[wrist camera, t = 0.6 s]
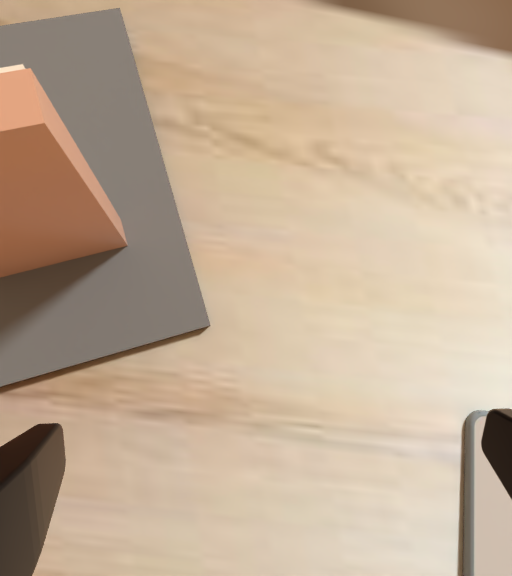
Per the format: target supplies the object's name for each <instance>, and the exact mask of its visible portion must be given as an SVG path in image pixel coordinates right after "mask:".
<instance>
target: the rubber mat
mask: <svg viewBox="0 0 512 576" xmlns="http://www.w3.org/2000/svg"><path fill="white" fill-rule="evenodd" d="M21 64H23V65H24V67H25V69H28V68H31V70H32V71H33V73H34V75H35V76H36V78H37V80H38V81H39V83H40V85H41V86H42V88H43V90H44V91H45V93H46V95H47V96H48V98H49V100H50V101H51V103H52V105H53V107H54V108H55V110H56V112H57V113H58V115H59V117H60V118H61V120H62V122H63V123H64V125H65V127H66V128H67V130H68V132H69V133H70V135H71V137H72V138H73V140H74V142H75V143H76V145H77V147H78V148H79V150H80V152H81V153H82V155H83V157H84V159H85V160H86V162H87V164H88V165H89V167H90V169H91V170H92V172H93V174H94V175H95V177H96V179H97V180H98V182H99V184H100V185H101V187H102V189H103V190H104V192H105V194H106V195H107V197H108V199H109V200H110V202H111V204H112V205H113V207H114V209H115V210H116V212H117V214H118V216H119V217H120V219H121V222H122V226H123V230H124V233H125V237H126V241H127V245H128V246H125V247H121V248H117V249H113V250H109V251H105V252H101V253H97V254H93V255H89V256H85V257H81V258H77V259H72V260H68V261H64V262H60V263H56V264H52V265H48V266H44V267H40V268H36V269H32V270H28V271H24V272H20V273H16V274H12V275H8V276H4V277H0V387H2V386H6V385H9V384H12V383H16V382H19V381H23V380H26V379H30V378H33V377H36V376H40V375H43V374H47V373H50V372H54V371H57V370H60V369H64V368H67V367H71V366H74V365H78V364H81V363H84V362H88V361H91V360H95V359H98V358H102V357H105V356H108V355H112V354H115V353H119V352H122V351H126V350H129V349H133V348H136V347H139V346H143V345H146V344H150V343H153V342H157V341H160V340H163V339H167V338H170V337H174V336H177V335H181V334H184V333H187V332H191V331H194V330H198V329H201V328H205V327H208V326H210V323H209V319H208V316H207V312H206V309H205V305H204V302H203V298H202V295H201V291H200V288H199V284H198V281H197V277H196V274H195V270H194V267H193V263H192V260H191V256H190V253H189V249H188V246H187V242H186V239H185V235H184V232H183V228H182V225H181V221H180V218H179V214H178V211H177V207H176V204H175V200H174V197H173V193H172V190H171V186H170V183H169V179H168V176H167V172H166V169H165V165H164V162H163V158H162V155H161V151H160V148H159V144H158V141H157V137H156V134H155V130H154V127H153V123H152V119H151V116H150V112H149V109H148V105H147V102H146V98H145V95H144V91H143V88H142V84H141V81H140V77H139V74H138V70H137V67H136V63H135V60H134V56H133V53H132V49H131V46H130V42H129V39H128V35H127V32H126V28H125V25H124V21H123V18H122V14H121V11H120V8H116V9H109V10H103V11H96V12H89V13H83V14H76V15H70V16H63V17H56V18H50V19H43V20H36V21H30V22H23V23H17V24H10V25H3V26H0V68H3V67H9V66H15V65H21Z"/></svg>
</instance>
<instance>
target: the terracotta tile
mask: <svg viewBox="0 0 512 576" xmlns="http://www.w3.org/2000/svg"><path fill="white" fill-rule="evenodd" d="M125 246H128V245H127V241H126V237H125V233H124V230H123V226H122V222H121V219H120V217H119V216H118V214H117V212H116V210H115V209H114V207H113V205H112V204H111V202H110V200H109V199H108V197H107V195H106V194H105V192H104V190H103V189H102V187H101V185H100V184H99V182H98V180H97V179H96V177H95V175H94V174H93V172H92V170H91V169H90V167H89V165H88V164H87V162H86V160H85V159H84V157H83V155H82V153H81V152H80V150H79V148H78V147H77V145H76V143H75V142H74V140H73V138H72V137H71V135H70V133H69V132H68V130H67V128H66V127H65V125H64V123H63V122H62V120H61V118H60V117H59V115H58V113H57V112H56V110H55V108H54V107H53V105H52V103H51V101H50V100H49V98H48V96H47V95H46V93H45V91H44V90H43V88H42V86H41V85H40V83H39V81H38V80H37V78H36V76H35V75H34V73H33V71H32V70H31V68H28V69H25V67H24V65H23V64H21V65H15V66H9V67H3V68H0V277H4V276H8V275H12V274H16V273H20V272H24V271H28V270H32V269H36V268H40V267H44V266H48V265H52V264H56V263H60V262H64V261H68V260H72V259H77V258H81V257H85V256H89V255H93V254H97V253H101V252H105V251H109V250H113V249H117V248H121V247H125Z"/></svg>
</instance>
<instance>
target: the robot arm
mask: <svg viewBox="0 0 512 576" xmlns="http://www.w3.org/2000/svg"><path fill="white" fill-rule="evenodd" d="M481 447H482V451H483V453H484V455H485V457H486V458H487V460H488V462H489V463H490V465H491V466H492V468H493V470H494V471H495V473H496V475H497V476H498V478H499V480H500V481H501V483H502V485H503V486H504V488H505V490H506V491H507V493H508V495H509V496H510V498H511V500H512V409H492V410H490V411H489V412H488V414H487V416H486V421H485V425H484V430H483V434H482V439H481ZM65 463H66V459H65V448H64V437H63V429H62V426H61V425H60V424H58V423H52V424H38V425H36V426H34V427H32V428H31V429H29V430H27V431H26V432H24V433H23V434H21V435H19V436H18V437H16V438H14V439H13V440H11V441H9V442H8V443H6V444H4V445H3V446H1V447H0V576H32V574H33V572H34V570H35V567H36V564H37V562H38V559H39V557H40V554H41V551H42V548H43V545H44V541H45V538H46V535H47V531H48V528H49V524H50V521H51V517H52V514H53V510H54V507H55V503H56V500H57V496H58V493H59V489H60V486H61V482H62V479H63V475H64V471H65Z"/></svg>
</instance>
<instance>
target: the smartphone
mask: <svg viewBox="0 0 512 576" xmlns="http://www.w3.org/2000/svg"><path fill="white" fill-rule="evenodd" d="M488 412H489V411H482V410H477V411H474V412H472V413H470V414H469V416H468V417H467V419H466V422H465V464H464V536H463V576H512V500H511V498H510V496H509V495H508V493H507V491H506V490H505V488H504V486H503V485H502V483H501V481H500V480H499V478H498V476H497V475H496V473H495V471H494V470H493V468H492V466H491V465H490V463H489V462H488V460H487V458H486V457H485V455H484V453H483V451H482V447H481V439H482V434H483V430H484V425H485V421H486V416H487V414H488Z"/></svg>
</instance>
